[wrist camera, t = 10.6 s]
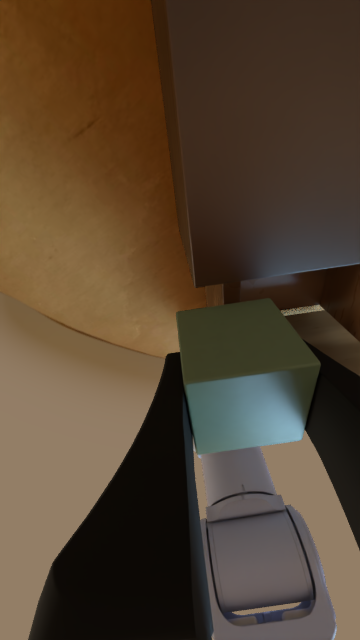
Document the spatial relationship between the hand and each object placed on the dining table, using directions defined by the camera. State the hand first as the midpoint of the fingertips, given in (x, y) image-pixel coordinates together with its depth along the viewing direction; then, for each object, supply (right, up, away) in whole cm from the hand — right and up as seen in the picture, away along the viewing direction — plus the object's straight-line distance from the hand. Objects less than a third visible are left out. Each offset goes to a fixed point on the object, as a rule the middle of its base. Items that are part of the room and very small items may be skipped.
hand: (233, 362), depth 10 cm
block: (0, +1, +1) cm, 1 cm away
